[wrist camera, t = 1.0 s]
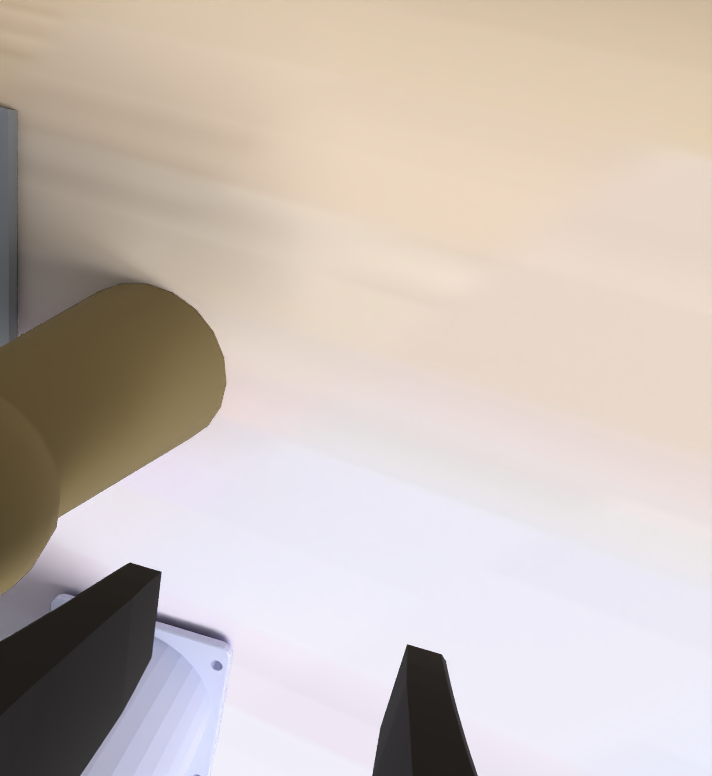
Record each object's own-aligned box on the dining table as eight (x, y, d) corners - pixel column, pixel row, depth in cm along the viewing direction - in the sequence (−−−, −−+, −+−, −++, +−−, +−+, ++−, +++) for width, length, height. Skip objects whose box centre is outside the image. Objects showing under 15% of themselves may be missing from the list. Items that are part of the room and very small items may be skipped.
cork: (36, 328, 21) (-373, 465, 10) (167, 251, 19) (-170, 326, 9) (127, 467, 22) (-156, 709, 12) (257, 407, 20) (57, 629, 10)
